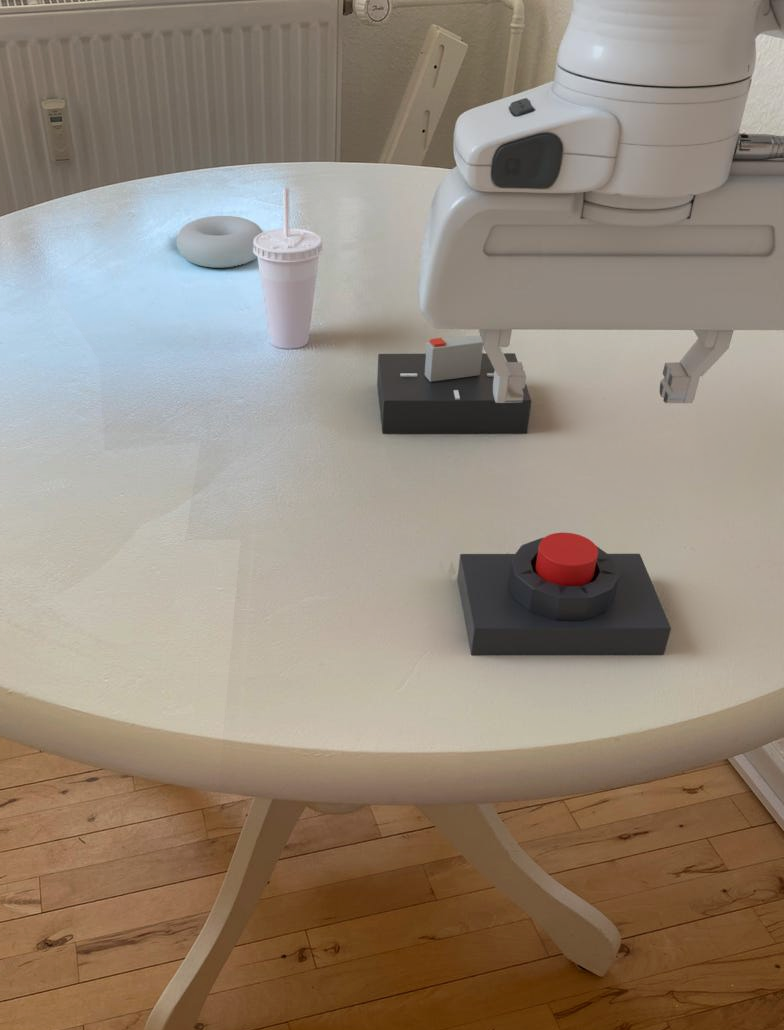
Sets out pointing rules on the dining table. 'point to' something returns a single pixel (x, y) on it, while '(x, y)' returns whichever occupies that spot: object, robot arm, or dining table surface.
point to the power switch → (560, 607)
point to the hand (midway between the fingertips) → (590, 398)
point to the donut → (218, 241)
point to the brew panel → (444, 400)
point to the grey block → (453, 358)
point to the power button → (566, 559)
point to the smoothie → (288, 279)
